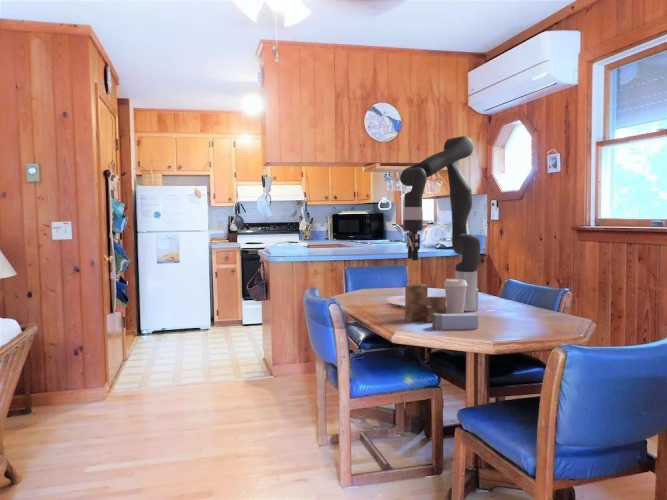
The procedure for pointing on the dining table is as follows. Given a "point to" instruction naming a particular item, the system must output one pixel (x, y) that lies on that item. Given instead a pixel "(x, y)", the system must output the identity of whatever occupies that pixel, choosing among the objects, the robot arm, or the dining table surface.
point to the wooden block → (421, 304)
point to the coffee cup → (455, 295)
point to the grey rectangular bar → (454, 321)
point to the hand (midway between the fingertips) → (412, 259)
